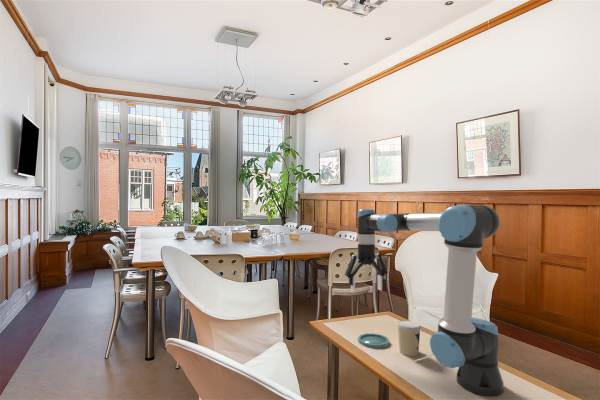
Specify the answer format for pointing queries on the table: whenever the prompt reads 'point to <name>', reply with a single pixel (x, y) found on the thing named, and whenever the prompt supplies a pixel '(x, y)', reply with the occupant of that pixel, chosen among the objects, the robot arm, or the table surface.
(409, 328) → the coffee cup
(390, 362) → the table surface
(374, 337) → the saucer
